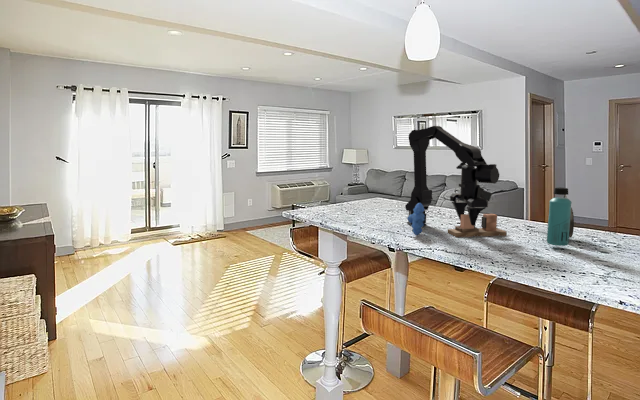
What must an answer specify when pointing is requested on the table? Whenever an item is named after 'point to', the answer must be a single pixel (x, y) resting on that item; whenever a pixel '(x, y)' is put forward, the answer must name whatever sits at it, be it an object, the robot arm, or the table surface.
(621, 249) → the table surface
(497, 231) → the rail
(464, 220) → the salmon and grey block
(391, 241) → the table surface
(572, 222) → the alarm clock
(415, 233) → the grapes
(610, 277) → the table surface
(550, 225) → the beverage bottle
